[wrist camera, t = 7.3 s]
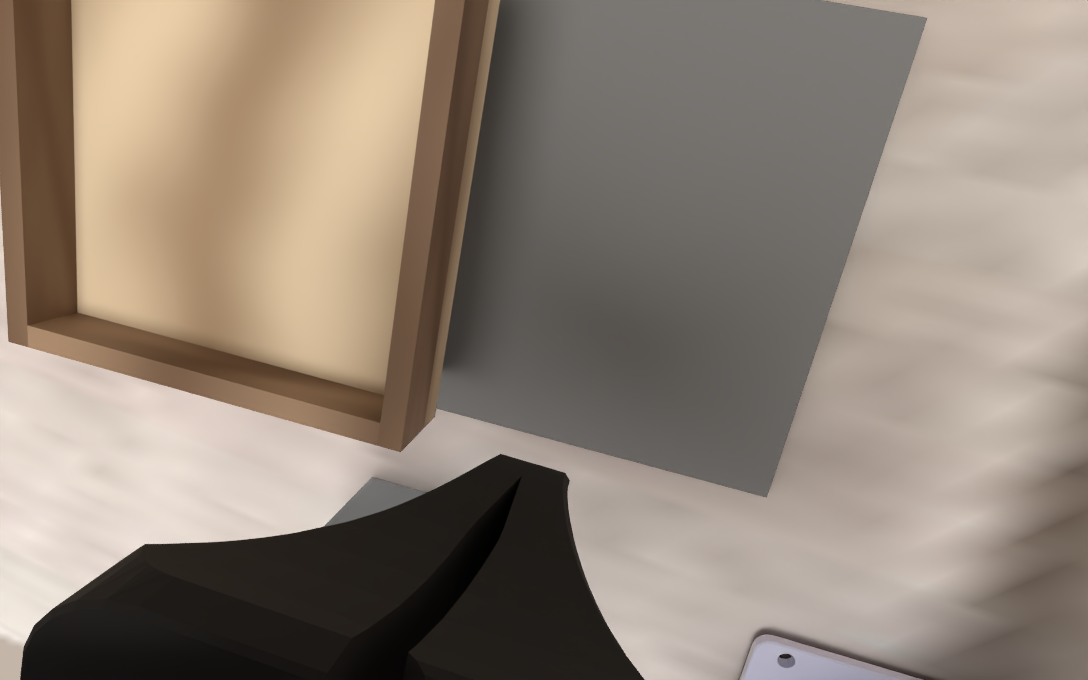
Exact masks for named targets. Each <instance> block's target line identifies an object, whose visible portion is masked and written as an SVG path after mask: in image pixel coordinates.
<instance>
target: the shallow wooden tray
mask: <svg viewBox="0 0 1088 680" xmlns="http://www.w3.org/2000/svg"><path fill="white" fill-rule="evenodd" d="M499 4H500V0H0V190H1V209H2V227H3V246H4V265H5V284H6V302H7V321H8V340H9V342H12V343H15V344H19V345H22V346H26V347H30V348H33V349H37V350H40V351H44V352H47V353H51V354H54V355H58V356H62V357H65V358H69V359H72V360H76V361H79V362H83V363H86V364H90V365H93V366H97V367H101V368H104V369H108V370H111V371H115V372H118V373H122V374H125V375H129V376H133V377H136V378H140V379H143V380H147V381H150V382H154V383H157V384H161V385H164V386H168V387H172V388H175V389H179V390H182V391H186V392H189V393H193V394H196V395H200V396H203V397H207V398H211V399H214V400H218V401H221V402H225V403H228V404H232V405H235V406H239V407H243V408H246V409H250V410H253V411H257V412H260V413H264V414H267V415H271V416H274V417H278V418H282V419H285V420H289V421H292V422H296V423H299V424H303V425H306V426H310V427H314V428H317V429H321V430H324V431H328V432H331V433H335V434H338V435H342V436H345V437H349V438H353V439H356V440H360V441H363V442H367V443H370V444H374V445H377V446H381V447H384V448H388V449H392V450H395V451H399V452H401V451H402V450H403V449H404V448H405V447H406V446H407V445H408V444H409V443H410V442H411V441H412V440H413V439H414V438H415V437H416V436H417V435H418V433H419V432H420V431H421V430H422V429H423V428H424V427H425V426H426V425H427V424H428V423H429V422H430V421H431V420H432V419H433V418H434V417H435V413H436V406H437V400H438V393H439V387H440V381H441V374H442V368H443V362H444V355H445V349H446V342H447V336H448V330H449V323H450V317H451V310H452V304H453V298H454V291H455V285H456V278H457V272H458V266H459V259H460V253H461V247H462V240H463V234H464V227H465V221H466V215H467V208H468V202H469V195H470V189H471V183H472V176H473V170H474V163H475V157H476V151H477V144H478V138H479V132H480V125H481V119H482V112H483V106H484V100H485V93H486V87H487V80H488V74H489V68H490V61H491V55H492V48H493V42H494V36H495V29H496V23H497V16H498V10H499Z"/></svg>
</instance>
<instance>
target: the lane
mask: <svg viewBox="0 0 1088 680" xmlns="http://www.w3.org/2000/svg"><path fill="white" fill-rule="evenodd" d="M926 20H927V18H925V17H919V16H913V15H907V14H900V13H894V12H888V11H882V10H876V9H870V8H864V7H858V6H852V5H846V4H840V3H834V2H828V1H822V0H500V4H499V10H498V16H497V23H496V29H495V36H494V42H493V48H492V55H491V61H490V68H489V74H488V80H487V87H486V93H485V100H484V106H483V112H482V119H481V125H480V132H479V138H478V144H477V151H476V157H475V163H474V170H473V176H472V183H471V189H470V195H469V202H468V208H467V215H466V221H465V227H464V234H463V240H462V247H461V253H460V259H459V266H458V272H457V278H456V285H455V291H454V298H453V304H452V310H451V317H450V323H449V330H448V336H447V342H446V349H445V355H444V362H443V368H442V374H441V381H440V387H439V393H438V400H437V406H436V408H437V409H441V410H445V411H448V412H452V413H456V414H459V415H463V416H467V417H471V418H474V419H478V420H482V421H485V422H489V423H493V424H496V425H500V426H504V427H508V428H511V429H515V430H519V431H522V432H526V433H530V434H534V435H537V436H541V437H545V438H548V439H552V440H556V441H559V442H563V443H567V444H571V445H574V446H578V447H582V448H585V449H589V450H593V451H597V452H600V453H604V454H608V455H611V456H615V457H619V458H622V459H626V460H630V461H634V462H637V463H641V464H645V465H648V466H652V467H656V468H660V469H663V470H667V471H671V472H674V473H678V474H682V475H685V476H689V477H693V478H697V479H700V480H704V481H708V482H711V483H715V484H719V485H723V486H726V487H730V488H734V489H737V490H741V491H745V492H748V493H752V494H756V495H760V496H763V497H767V495H768V492H769V489H770V486H771V483H772V480H773V477H774V474H775V471H776V468H777V465H778V462H779V459H780V456H781V453H782V450H783V447H784V444H785V441H786V438H787V436H788V433H789V430H790V427H791V424H792V421H793V418H794V415H795V412H796V409H797V406H798V403H799V400H800V397H801V394H802V391H803V388H804V385H805V382H806V379H807V376H808V373H809V370H810V367H811V364H812V361H813V358H814V355H815V352H816V349H817V346H818V343H819V340H820V337H821V334H822V331H823V328H824V325H825V322H826V319H827V316H828V313H829V310H830V307H831V304H832V301H833V298H834V295H835V292H836V289H837V286H838V283H839V280H840V277H841V274H842V271H843V268H844V265H845V262H846V259H847V256H848V253H849V250H850V247H851V244H852V241H853V238H854V235H855V232H856V229H857V226H858V223H859V220H860V218H861V215H862V212H863V209H864V206H865V203H866V200H867V197H868V194H869V191H870V188H871V185H872V182H873V179H874V176H875V173H876V170H877V167H878V164H879V161H880V158H881V155H882V152H883V149H884V146H885V143H886V140H887V137H888V134H889V131H890V128H891V125H892V122H893V119H894V116H895V113H896V110H897V107H898V104H899V101H900V98H901V95H902V92H903V89H904V86H905V83H906V80H907V77H908V74H909V71H910V68H911V65H912V62H913V59H914V56H915V53H916V50H917V47H918V44H919V41H920V38H921V35H922V32H923V29H924V26H925V23H926Z"/></svg>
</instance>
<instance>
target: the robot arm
mask: <svg viewBox="0 0 1088 680" xmlns="http://www.w3.org/2000/svg"><path fill="white" fill-rule="evenodd" d="M568 485H569V479H568V477H567V475H566V473H563V472H560V471H557V470H553V469H550V468H546V467H543V466H540V465H536V464H533V463H529V462H526V461H523V460H519V459H516V458H512V457H509V456H506V455H502V454H500V455H498V456H496V457H494V458H492V459H490V460H488V461H486V462H485V463H483V464H481V465H479V466H477V467H476V468H474V469H472V470H470V471H468V472H467V473H465V474H463V475H461V476H459V477H458V478H456V479H454V480H452V481H450V482H448V483H446V484H444V485H442V486H440V487H438V488H436V489H434V490H432V491H429V492H427V493H425V494H423V495H420V496H418V497H416V498H413V499H411V500H409V501H407V502H404V503H402V504H400V505H397V506H394V507H392V508H389V509H386V510H383V511H380V512H377V513H374V514H371V515H368V516H364V517H361V518H358V519H355V520H351V521H347V522H344V523H339V524H335V525H330V526H325V527H321V528H316V529H312V530H307V531H302V532H298V533H292V534H286V535H279V536H272V537H265V538H256V539H247V540H238V541H226V542H208V543H180V544H145V545H143V546H142V547H140V548H139V549H137V550H136V551H134V552H133V553H131V554H130V555H128V556H127V557H125V558H124V559H123V560H121V561H120V562H118V563H117V564H115V565H114V566H112V567H111V568H110V569H108V570H107V571H105V572H104V573H103V574H101V575H100V576H98V577H97V578H96V579H94V580H93V581H91V582H90V583H89V584H87V585H86V586H84V587H83V588H81V589H80V590H79V591H77V592H76V593H74V594H73V595H72V596H70V597H69V598H67V599H66V600H65V601H63V602H62V603H60V604H59V605H58V606H56V607H55V608H53V609H52V610H51V611H50V612H49V613H48V614H46V615H45V616H44V617H43V618H42V619H41V620H40V621H39V622H37V623H36V624H35V625H34V627H33V629H32V631H31V633H30V635H29V637H28V639H27V641H26V643H25V645H24V650H23V659H22V667H21V678H20V680H644V679H643V677H642V676H641V675H640V673H639V672H638V671H637V669H636V668H635V667H634V665H633V664H632V663H631V661H630V660H629V659H628V657H627V656H626V655H625V653H624V651H623V650H622V648H621V647H620V645H619V643H618V642H617V640H616V639H615V637H614V635H613V634H612V632H611V631H610V629H609V627H608V626H607V624H606V622H605V620H604V618H603V616H602V614H601V612H600V610H599V608H598V606H597V604H596V601H595V599H594V597H593V595H592V592H591V590H590V588H589V585H588V583H587V580H586V577H585V575H584V572H583V569H582V566H581V563H580V559H579V556H578V553H577V550H576V546H575V542H574V538H573V533H572V528H571V523H570V517H569V510H568V499H567V490H568ZM782 654H790V655H792V657H791V658H788V659H782V658H780V657H779V656H780V655H782ZM740 680H922V679H919V678H915V677H912V676H909V675H905V674H902V673H899V672H895V671H892V670H889V669H885V668H882V667H878V666H875V665H872V664H868V663H865V662H862V661H858V660H855V659H852V658H848V657H845V656H842V655H838V654H835V653H831V652H828V651H825V650H821V649H818V648H815V647H811V646H808V645H805V644H801V643H798V642H795V641H791V640H788V639H784V638H781V637H778V636H774V635H768V634H766V635H761V636H759V637H757V638H756V639H755V640H754V642H753V643H752V646H751V649H750V652H749V655H748V657H747V660H746V663H745V666H744V669H743V671H742V674H741V677H740Z"/></svg>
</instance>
